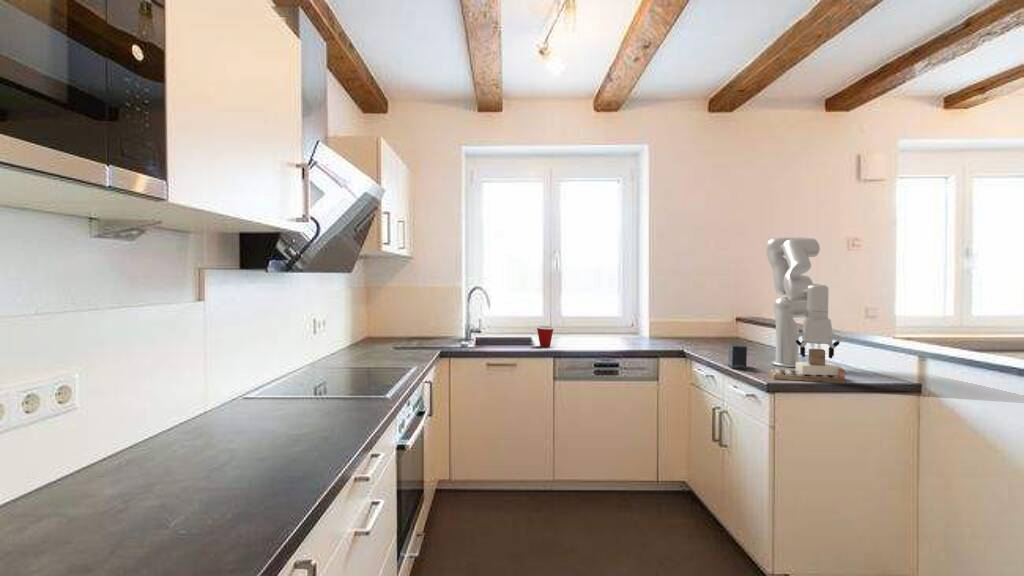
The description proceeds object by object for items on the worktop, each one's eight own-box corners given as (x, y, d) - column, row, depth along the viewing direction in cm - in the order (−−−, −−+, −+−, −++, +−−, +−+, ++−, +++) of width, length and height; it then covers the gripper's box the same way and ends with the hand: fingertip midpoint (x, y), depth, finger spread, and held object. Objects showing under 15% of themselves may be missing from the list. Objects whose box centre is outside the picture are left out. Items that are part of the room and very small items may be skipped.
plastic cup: (544, 348, 296) (544, 327, 295) (532, 346, 304) (532, 326, 304) (558, 346, 303) (558, 326, 302) (545, 344, 311) (545, 324, 311)
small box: (747, 369, 230) (747, 346, 229) (732, 369, 231) (732, 345, 231) (741, 365, 240) (742, 343, 240) (727, 364, 241) (727, 342, 241)
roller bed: (770, 373, 221) (770, 361, 221) (837, 377, 212) (837, 365, 212) (773, 379, 209) (773, 366, 209) (845, 383, 201) (845, 370, 200)
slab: (795, 370, 215) (795, 361, 215) (829, 371, 213) (829, 362, 212) (802, 374, 207) (802, 365, 207) (838, 375, 204) (838, 366, 204)
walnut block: (808, 362, 212) (808, 348, 212) (822, 363, 211) (822, 349, 211) (810, 365, 208) (811, 350, 208) (825, 365, 206) (825, 350, 206)
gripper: (794, 315, 208) (794, 357, 209) (844, 316, 202) (843, 359, 203) (791, 314, 215) (791, 354, 216) (839, 315, 209) (839, 356, 210)
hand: (816, 357), depth 209 cm, fingers open, 9 cm apart
